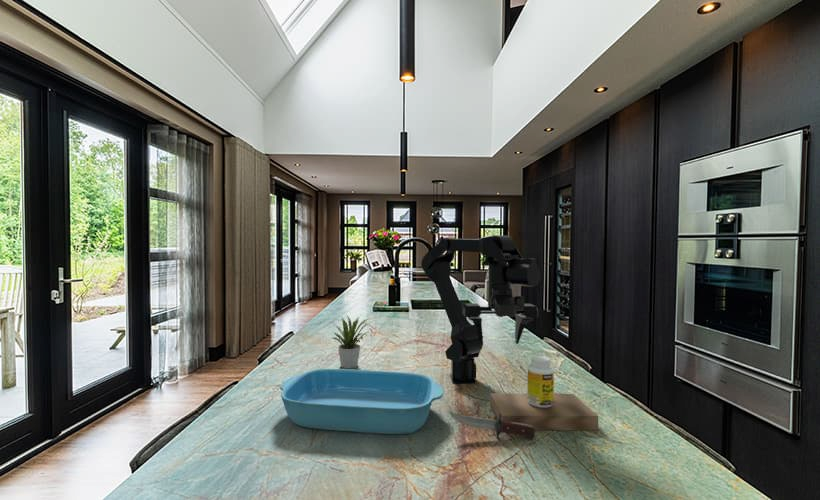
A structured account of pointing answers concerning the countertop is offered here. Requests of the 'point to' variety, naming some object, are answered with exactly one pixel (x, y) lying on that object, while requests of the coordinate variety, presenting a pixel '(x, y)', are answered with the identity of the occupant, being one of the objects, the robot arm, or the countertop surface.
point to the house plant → (349, 343)
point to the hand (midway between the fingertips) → (499, 343)
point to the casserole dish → (360, 400)
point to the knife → (497, 425)
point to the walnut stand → (545, 412)
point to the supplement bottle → (540, 382)
